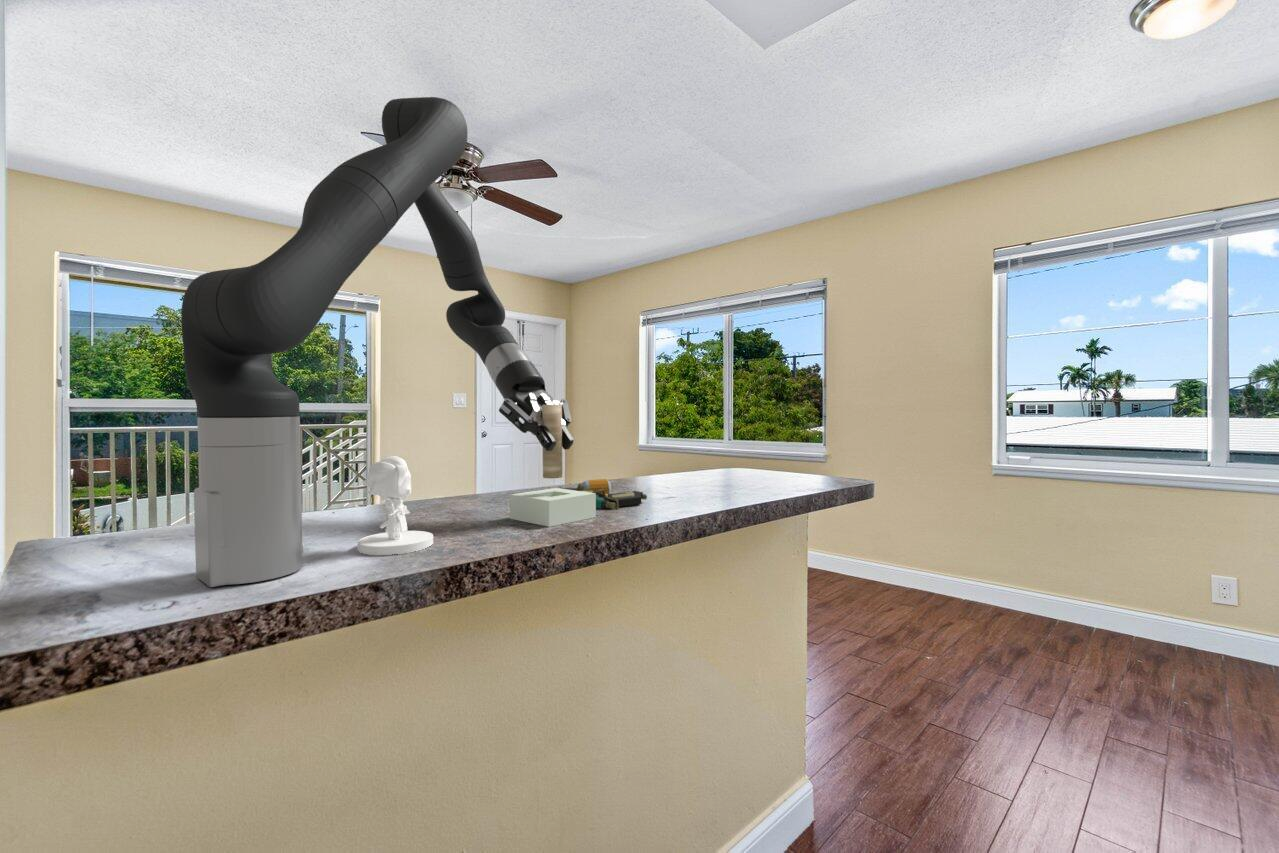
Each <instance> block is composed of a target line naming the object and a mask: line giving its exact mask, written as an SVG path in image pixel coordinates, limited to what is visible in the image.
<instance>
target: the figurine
mask: <svg viewBox="0 0 1279 853" xmlns="http://www.w3.org/2000/svg"><path fill="white" fill-rule="evenodd" d="M411 474H412V473H411V472H410V470H409V467H408V464H407V462H406V460H405V459H403V458H402V457H399V456H397V455H390V456H386V457H384V458H382V459H381V460H379V461H377V462H373V463H371V465H370V466H369V469H368V472H367V476H366V479H364V480H363V481H362V483H363V484H364V485H366V486H368V487H369V488H370V490H369V491H368V492H367V493H368V494H369V495H371V496H379V497H381V500H383V501H385V502H384V507H385V509H386V512H387V513H388V515H387V520H386V521H385V522H382V524H380V525H379V528H380V529H383V528H384V532H379V533H375V534H370V535H366V536H364V537H362V538H361V537H360V538H359V540H357V551H359V552H358V553H360V554H362V553H363V555H366V554H367V555H368V556H395V555H394V554H398V555H405V553H406V554H411V552H412V553H415V552H414V551H416V552H419V550H420V551H423V550H422V549H424V550H426V549H425V548H427V547H429V546H431V545H432V544H433V545H434V534H433V533H432V532H429V531H424V530H423V531H422V530H408V524H407V517H406V515H410V514H411V511H410V510H408V507H407V505H404V500H407V499H408V498H409V497H410V496H411V494H412V475H411ZM433 545H432V546H433ZM432 546H431V547H432ZM429 548H430V547H429ZM427 549H428V548H427ZM392 554H393V555H392Z"/></svg>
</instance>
